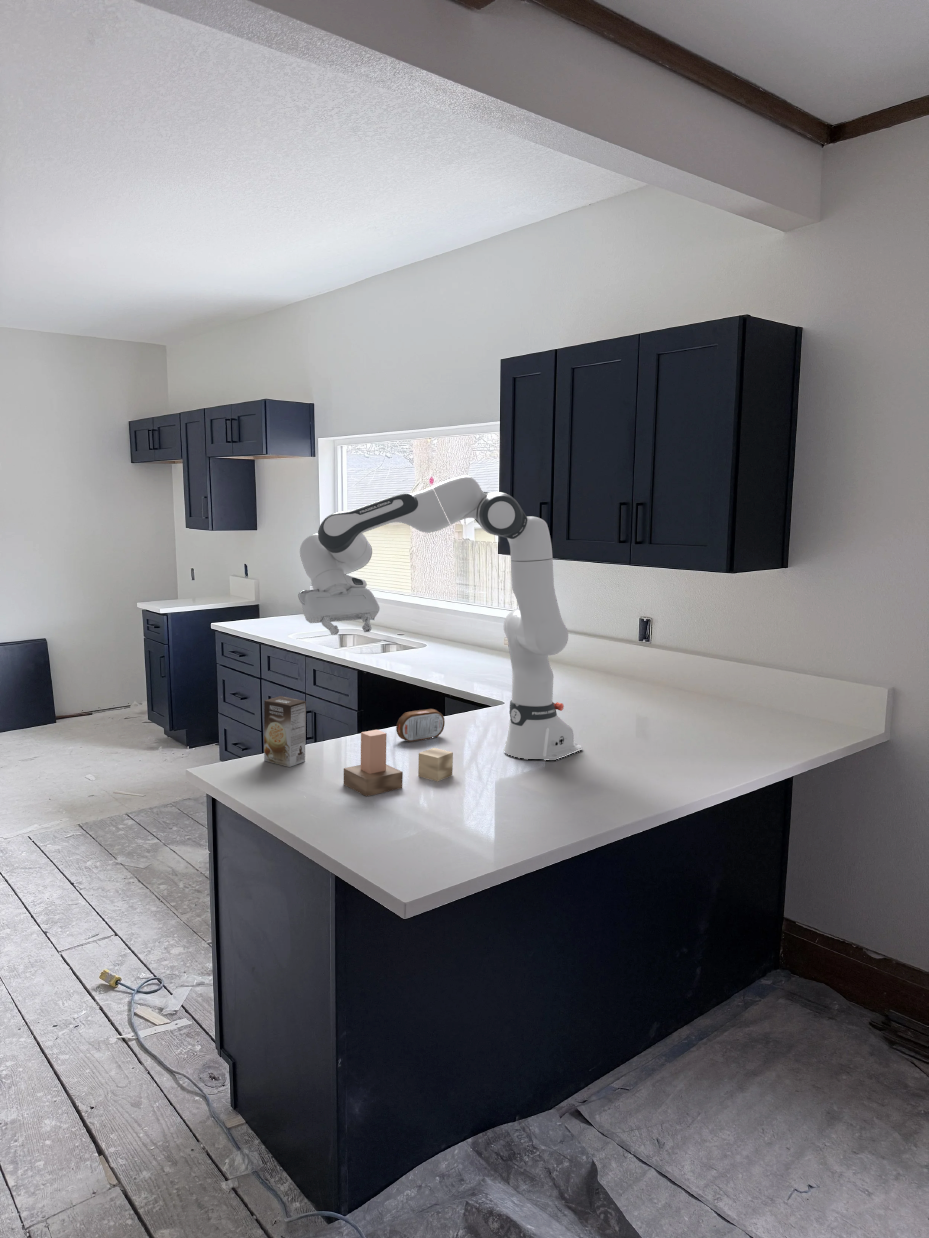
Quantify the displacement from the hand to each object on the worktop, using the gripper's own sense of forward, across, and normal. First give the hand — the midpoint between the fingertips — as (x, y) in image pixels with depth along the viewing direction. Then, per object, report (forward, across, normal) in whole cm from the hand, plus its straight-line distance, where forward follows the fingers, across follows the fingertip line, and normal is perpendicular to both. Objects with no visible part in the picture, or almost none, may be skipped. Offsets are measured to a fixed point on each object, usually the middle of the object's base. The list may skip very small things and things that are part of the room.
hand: (352, 632), depth 211 cm
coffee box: (+15, -12, +33) cm, 39 cm away
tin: (+18, +29, +31) cm, 46 cm away
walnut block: (+36, -4, +13) cm, 38 cm away
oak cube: (+37, +13, +11) cm, 41 cm away
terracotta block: (+33, -4, +10) cm, 35 cm away
